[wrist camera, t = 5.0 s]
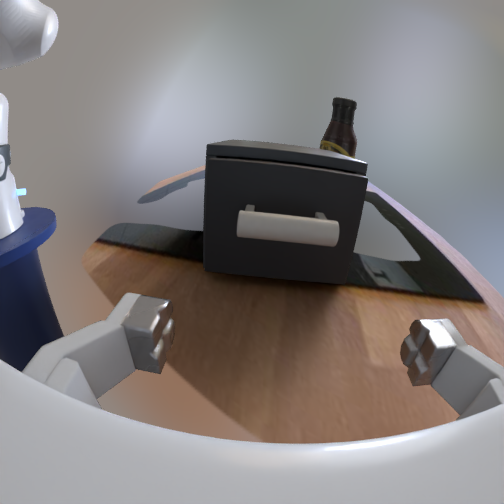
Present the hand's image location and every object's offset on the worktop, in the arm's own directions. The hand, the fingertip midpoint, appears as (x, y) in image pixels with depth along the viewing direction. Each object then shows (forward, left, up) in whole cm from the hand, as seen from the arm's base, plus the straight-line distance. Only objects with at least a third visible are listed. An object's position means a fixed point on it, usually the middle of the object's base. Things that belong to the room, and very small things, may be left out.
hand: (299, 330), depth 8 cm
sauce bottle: (+10, +40, -7) cm, 42 cm away
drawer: (0, +17, -5) cm, 18 cm away
